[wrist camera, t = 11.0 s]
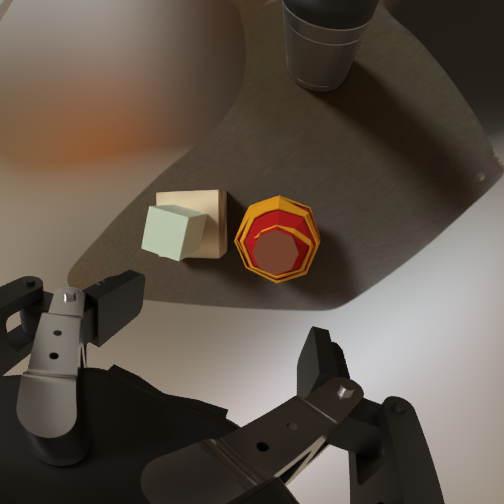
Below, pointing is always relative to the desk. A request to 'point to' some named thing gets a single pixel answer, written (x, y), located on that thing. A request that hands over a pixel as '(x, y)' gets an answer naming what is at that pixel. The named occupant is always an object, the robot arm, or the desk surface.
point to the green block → (173, 231)
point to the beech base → (215, 223)
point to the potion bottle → (278, 238)
